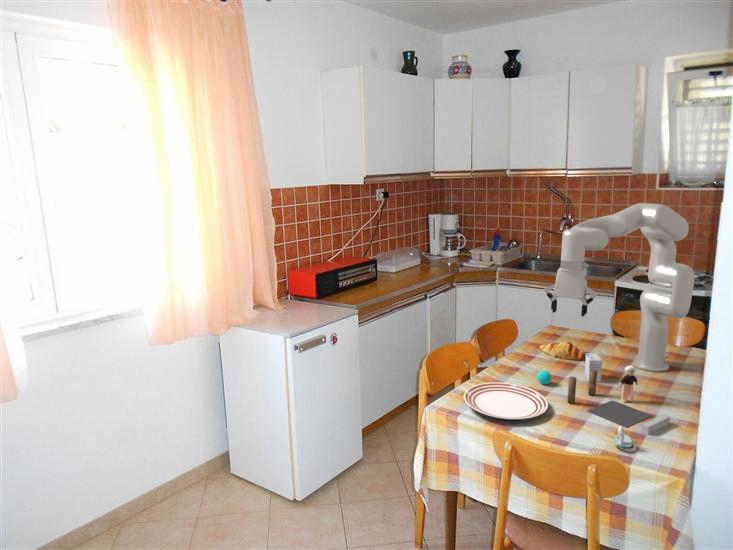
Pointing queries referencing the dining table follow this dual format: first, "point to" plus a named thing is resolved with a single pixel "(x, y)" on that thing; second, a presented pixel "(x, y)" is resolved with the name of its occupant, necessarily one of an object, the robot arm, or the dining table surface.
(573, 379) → the post far
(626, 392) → the grandmother figurine
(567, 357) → the croissant
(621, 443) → the pacifier
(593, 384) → the post near arm
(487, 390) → the dinner plate
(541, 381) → the ball
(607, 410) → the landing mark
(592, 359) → the medicine box
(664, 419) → the wall
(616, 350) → the dining table surface
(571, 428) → the dining table surface
